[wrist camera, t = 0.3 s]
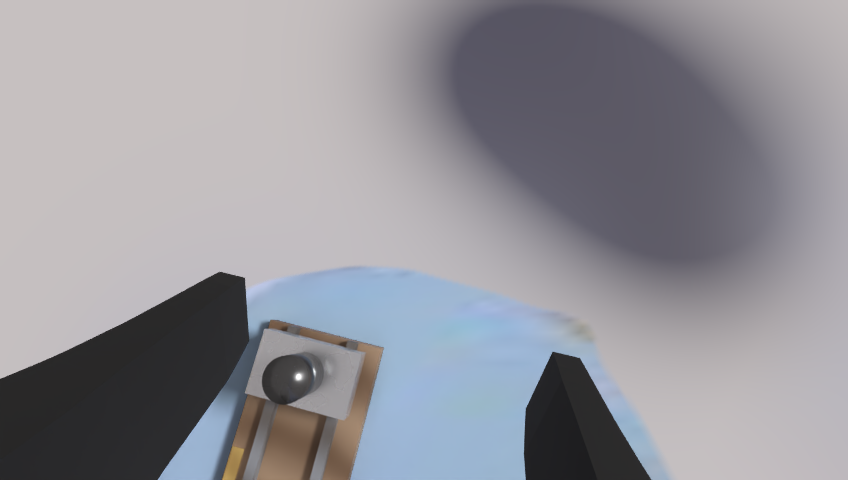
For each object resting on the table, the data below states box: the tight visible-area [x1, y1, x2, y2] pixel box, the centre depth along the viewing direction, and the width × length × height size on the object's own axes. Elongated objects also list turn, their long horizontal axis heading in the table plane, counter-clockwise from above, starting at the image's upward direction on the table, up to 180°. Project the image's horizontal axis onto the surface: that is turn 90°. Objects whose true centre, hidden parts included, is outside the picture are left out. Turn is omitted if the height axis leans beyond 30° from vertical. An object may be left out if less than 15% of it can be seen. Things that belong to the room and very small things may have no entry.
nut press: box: [222, 320, 384, 480], centre depth 34 cm, size 19×10×6 cm, turn 166°
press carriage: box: [245, 329, 366, 420], centre depth 33 cm, size 5×8×6 cm, turn 76°
